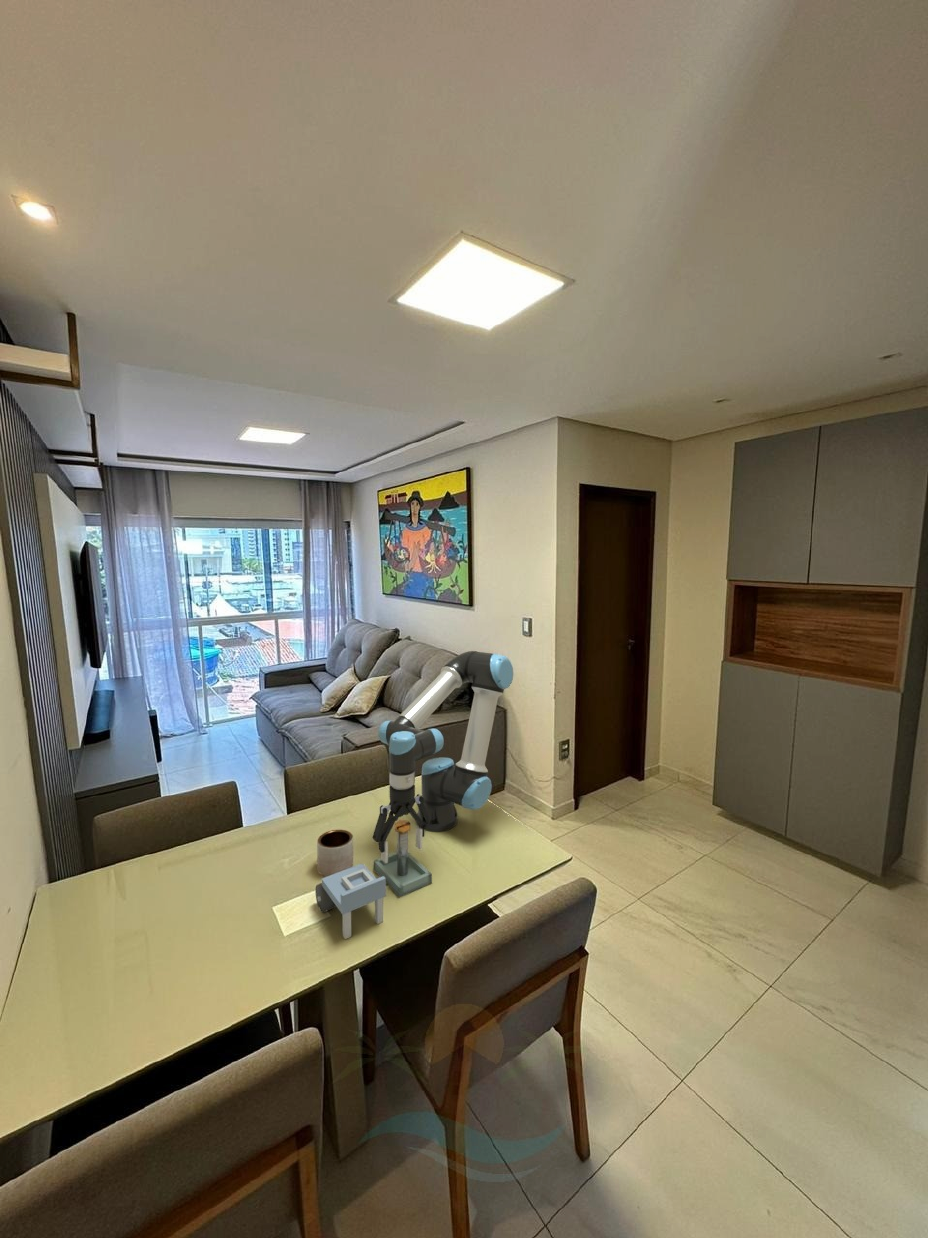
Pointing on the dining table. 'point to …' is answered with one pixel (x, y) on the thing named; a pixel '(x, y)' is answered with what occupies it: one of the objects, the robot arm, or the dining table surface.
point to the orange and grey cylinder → (402, 846)
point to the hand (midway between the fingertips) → (402, 854)
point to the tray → (403, 884)
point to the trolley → (351, 893)
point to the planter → (334, 852)
